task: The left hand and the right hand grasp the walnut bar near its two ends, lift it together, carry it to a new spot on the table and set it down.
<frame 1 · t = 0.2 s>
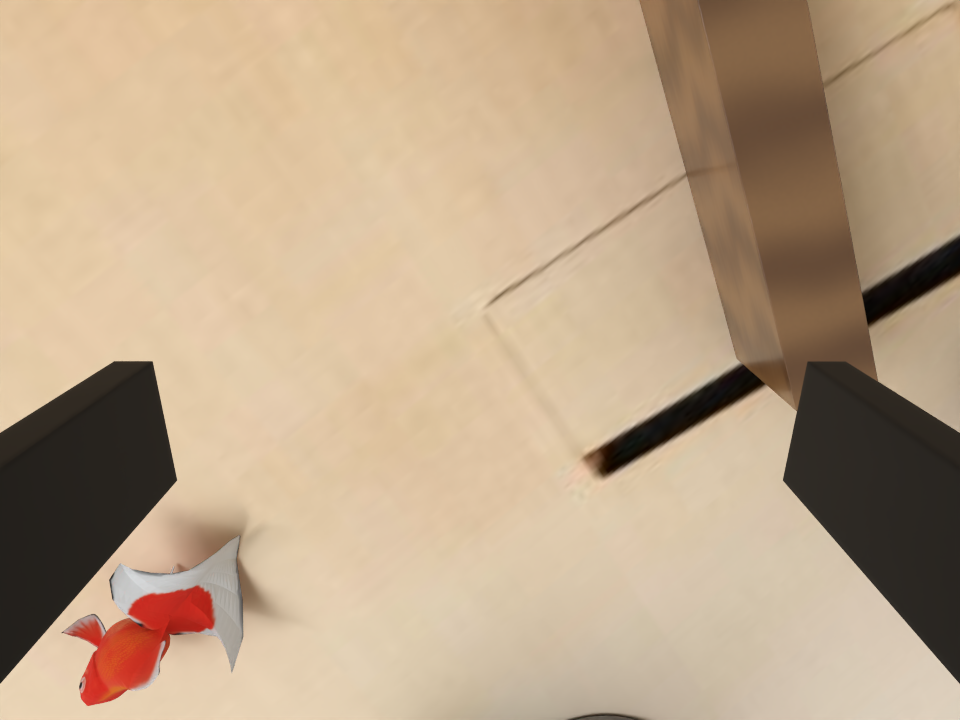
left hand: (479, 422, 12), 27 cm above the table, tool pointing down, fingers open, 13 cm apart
fish: (185, 578, 48), on the table
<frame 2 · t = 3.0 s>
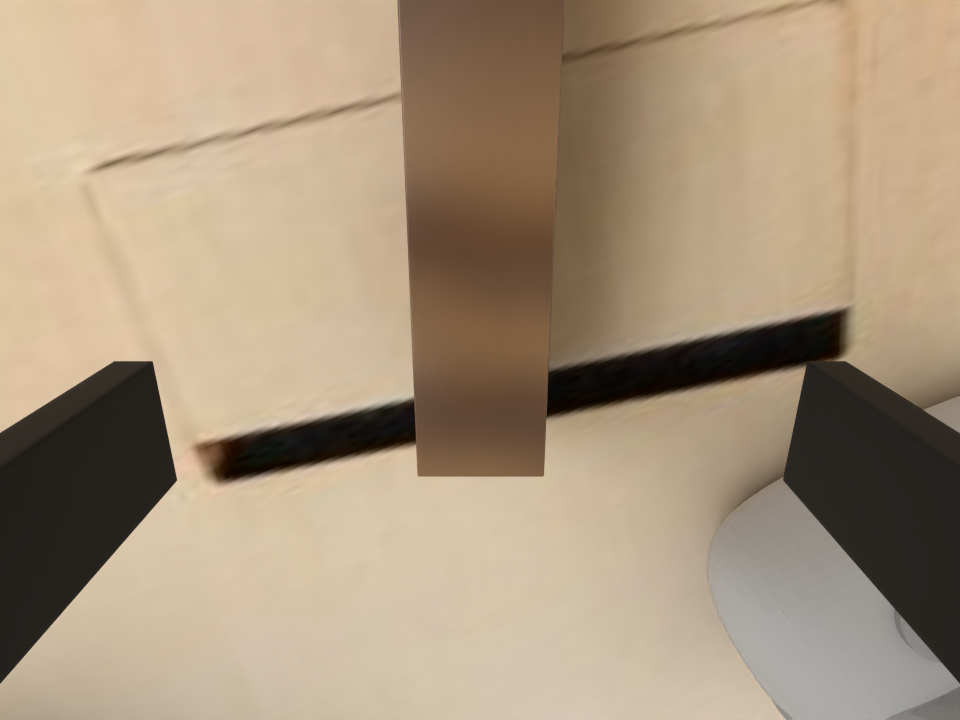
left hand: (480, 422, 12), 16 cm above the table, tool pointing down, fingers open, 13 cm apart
projector: (920, 504, 32), on the table
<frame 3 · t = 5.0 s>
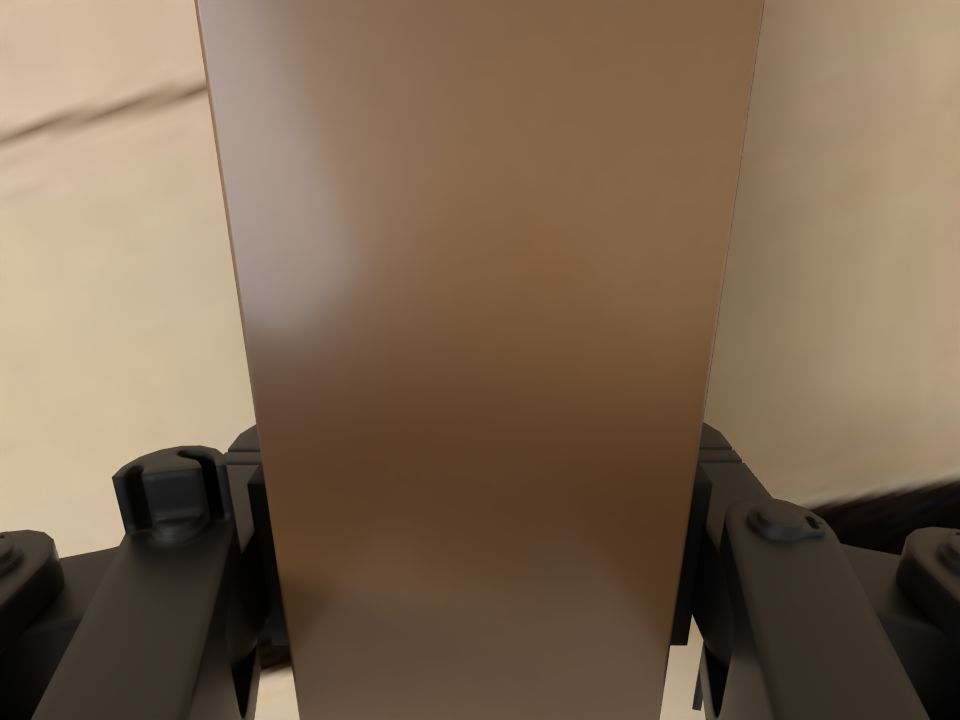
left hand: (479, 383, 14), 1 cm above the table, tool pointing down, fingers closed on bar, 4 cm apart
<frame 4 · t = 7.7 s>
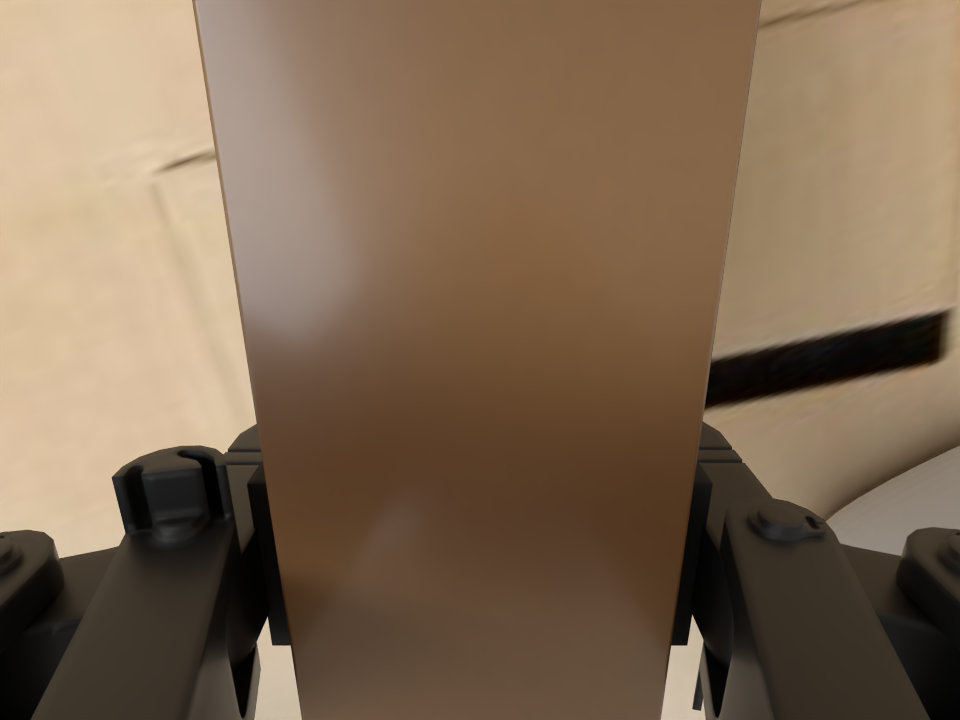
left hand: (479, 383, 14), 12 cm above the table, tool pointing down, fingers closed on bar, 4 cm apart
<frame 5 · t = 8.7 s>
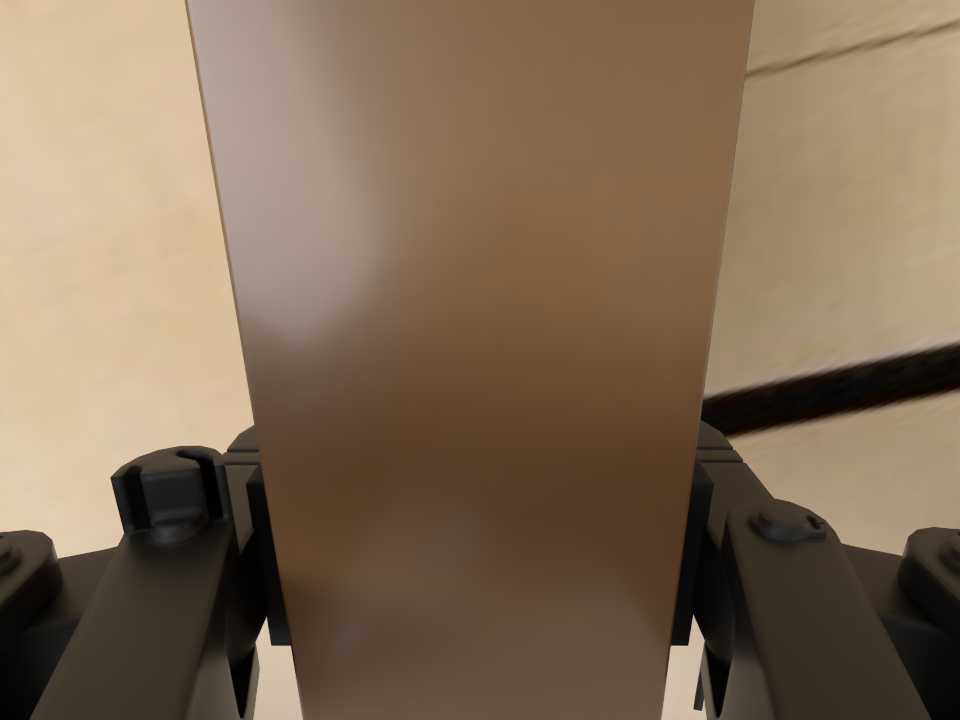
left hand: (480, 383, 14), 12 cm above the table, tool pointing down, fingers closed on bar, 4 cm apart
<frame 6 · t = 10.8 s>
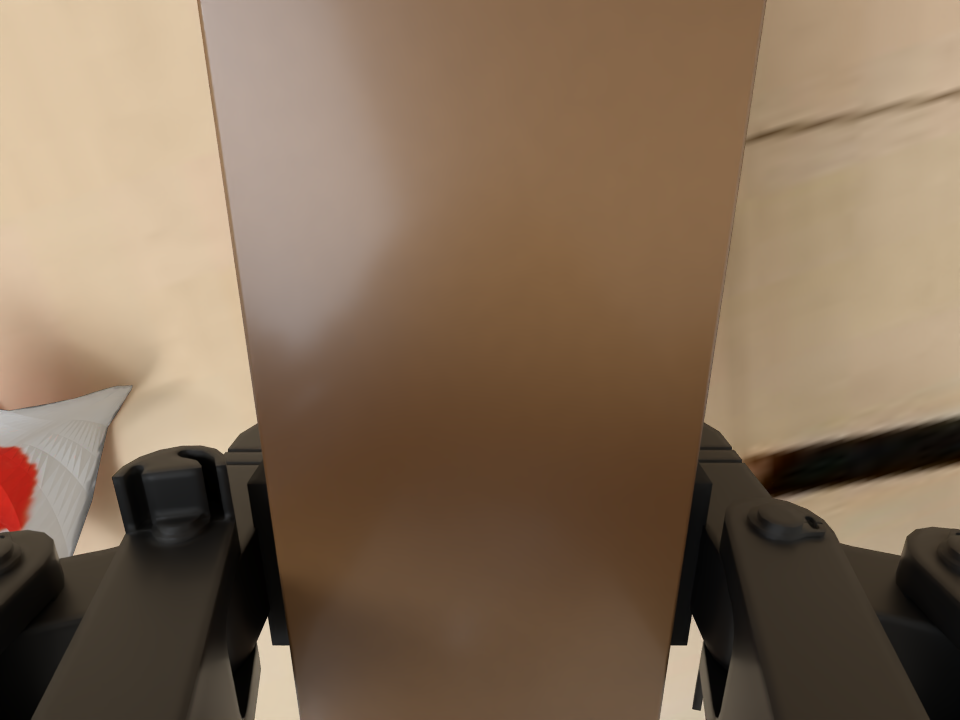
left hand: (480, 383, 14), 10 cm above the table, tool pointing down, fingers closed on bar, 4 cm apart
fish: (0, 430, 26), on the table
when the left hand's fingers open (2 cm above the table, at t = 12.4 s): bar drops 1 cm, on the table.
when the right hand's fingers open (2 cm above the table, at t = 12.4 s): bar drops 1 cm, on the table.
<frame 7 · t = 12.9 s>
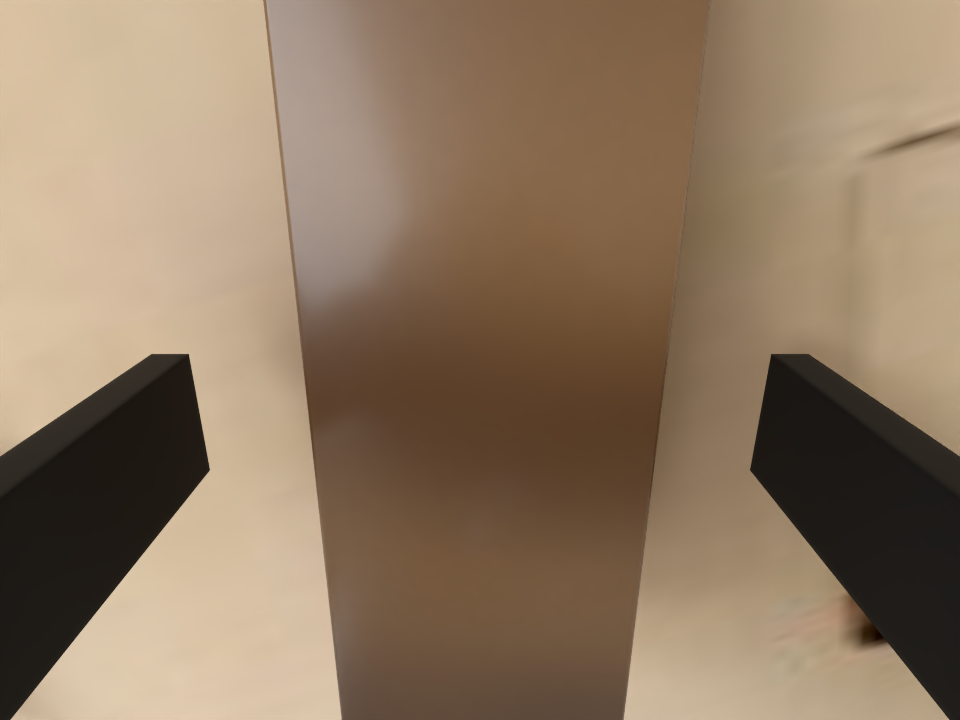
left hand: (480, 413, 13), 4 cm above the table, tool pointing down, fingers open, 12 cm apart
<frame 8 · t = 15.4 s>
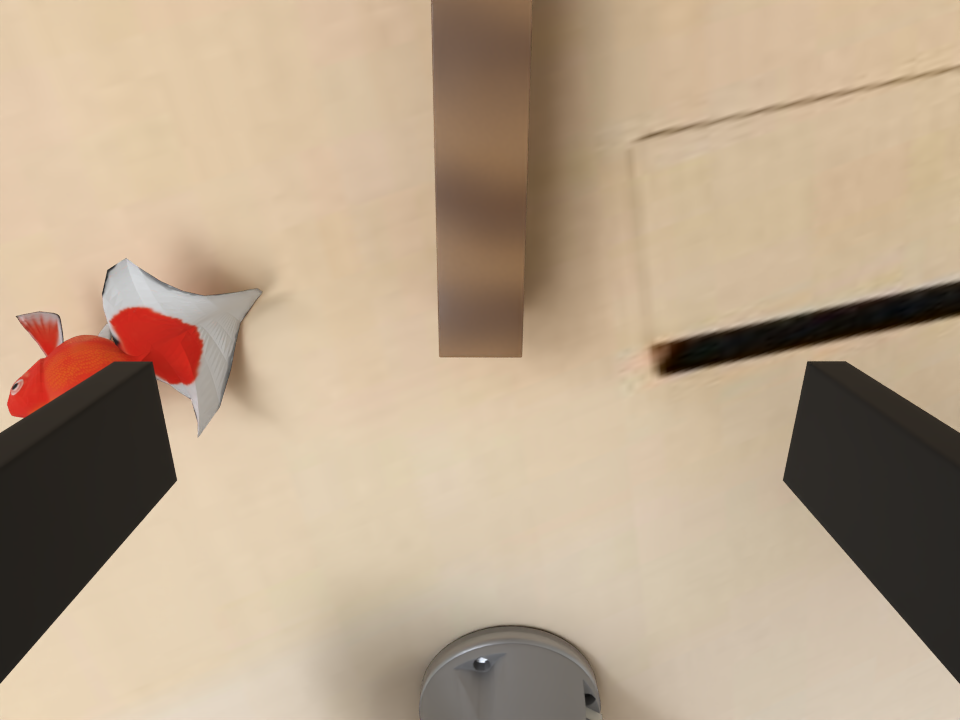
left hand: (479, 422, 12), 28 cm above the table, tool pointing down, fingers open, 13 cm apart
fish: (169, 325, 41), on the table
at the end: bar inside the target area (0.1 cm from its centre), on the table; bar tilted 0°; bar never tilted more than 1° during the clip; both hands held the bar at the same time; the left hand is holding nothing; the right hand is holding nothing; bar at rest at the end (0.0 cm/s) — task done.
